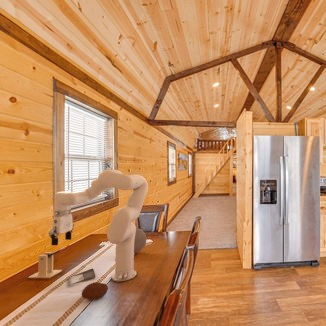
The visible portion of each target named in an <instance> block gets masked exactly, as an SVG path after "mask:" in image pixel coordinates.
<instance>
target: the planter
mask: <svg viewBox="0 0 326 326" xmlns="http://www.w3.org/2000/svg"><path fill="white" fill-rule="evenodd" d="M147 241H148V240H147V235H146V233H145V231H144V230H143V229H141V228H138V227H136V234H135V240H134V254H138V253H139V252H141V251H142V250H143V249H144V248H145V247H146V245H147Z"/></svg>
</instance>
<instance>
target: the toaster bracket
mask: <svg viewBox="0 0 326 326" xmlns="http://www.w3.org/2000/svg"><path fill="white" fill-rule="evenodd" d="M54 252H55V251H53V252H51V251H48V252H47V251H45V252H44V254H39V255H38V262H37V264H38V267H37V272H34V273H33V274H31V275H29V276H28V277H27V279H50V278H52V277H54V276H56V275H58V274H59V273H61V272H63V269H54V256H55V254H54V255H52V256H50V258H48V255H47V254H52V253H54Z"/></svg>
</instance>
